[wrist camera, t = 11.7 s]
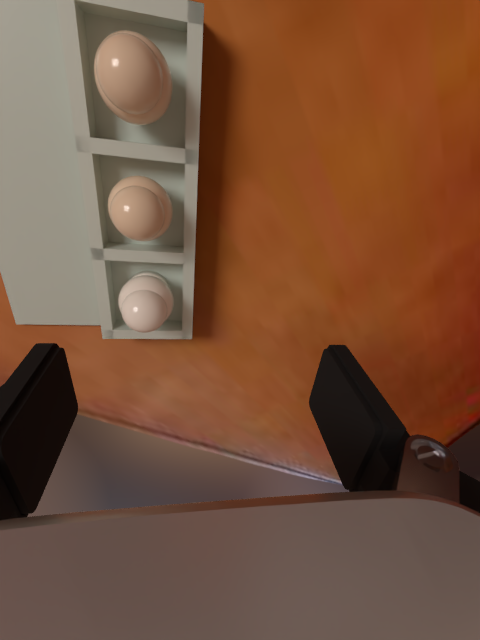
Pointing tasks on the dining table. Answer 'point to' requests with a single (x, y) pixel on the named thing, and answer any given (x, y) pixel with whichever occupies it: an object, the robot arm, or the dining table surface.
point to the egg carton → (92, 162)
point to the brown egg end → (133, 77)
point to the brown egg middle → (140, 208)
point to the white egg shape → (145, 301)
